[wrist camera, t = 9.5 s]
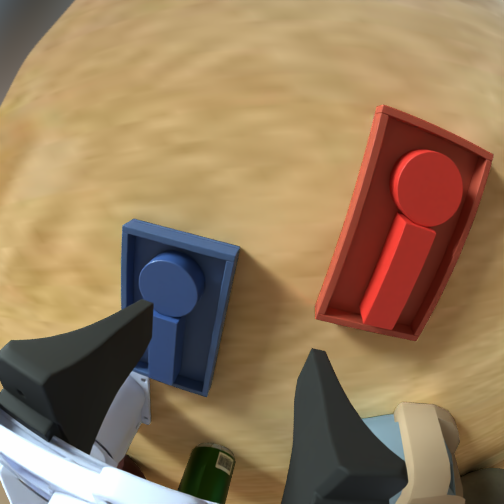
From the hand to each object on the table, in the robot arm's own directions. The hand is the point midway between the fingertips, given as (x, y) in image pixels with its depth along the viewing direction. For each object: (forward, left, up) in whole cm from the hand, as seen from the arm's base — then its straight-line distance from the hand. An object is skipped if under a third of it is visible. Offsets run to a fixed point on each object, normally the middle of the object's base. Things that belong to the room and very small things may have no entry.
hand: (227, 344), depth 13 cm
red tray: (+5, -9, -9) cm, 13 cm away
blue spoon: (-6, +5, -8) cm, 11 cm away
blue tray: (-6, +5, -9) cm, 12 cm away
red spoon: (+5, -9, -8) cm, 13 cm away
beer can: (-26, -1, -9) cm, 28 cm away
